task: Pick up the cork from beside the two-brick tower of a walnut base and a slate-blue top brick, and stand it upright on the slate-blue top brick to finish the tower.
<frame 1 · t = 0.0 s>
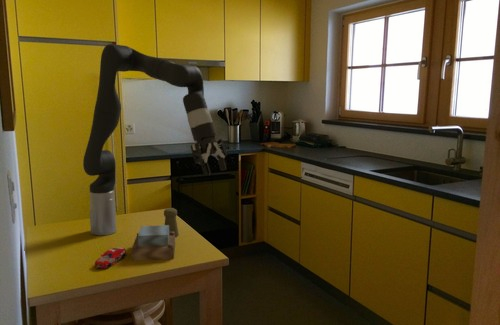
hand: (216, 172, 134), 31 cm above the table, tool tilted 20°, fingers open, 8 cm apart
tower: (154, 251, 150), on the table
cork: (171, 235, 166), on the table
race car: (111, 262, 141), on the table
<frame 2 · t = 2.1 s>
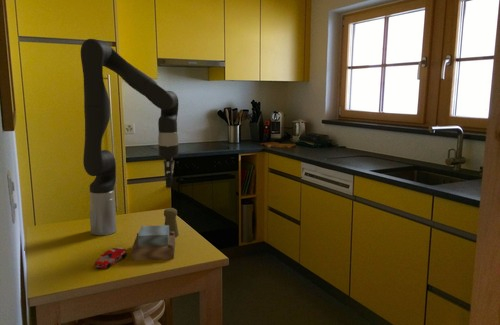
hand: (169, 184, 162), 21 cm above the table, tool pointing down, fingers open, 8 cm apart
nothing on the table moved.
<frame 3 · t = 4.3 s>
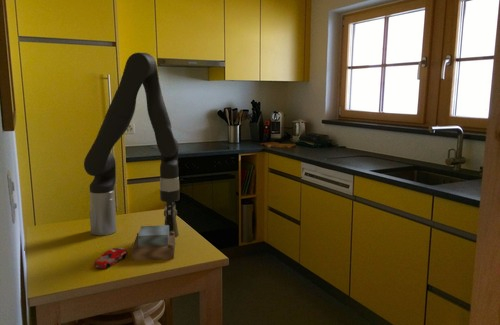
hand: (170, 229, 166), 2 cm above the table, tool pointing down, fingers closed on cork, 3 cm apart
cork: (171, 235, 166), on the table, touching gripper
everything else where it was.
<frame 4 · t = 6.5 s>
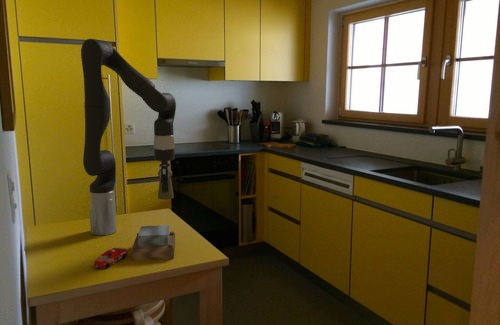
hand: (165, 191, 158), 19 cm above the table, tool pointing down, fingers closed on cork, 3 cm apart
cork: (165, 197, 158), point 17 cm above the table, touching gripper
everything else where it was.
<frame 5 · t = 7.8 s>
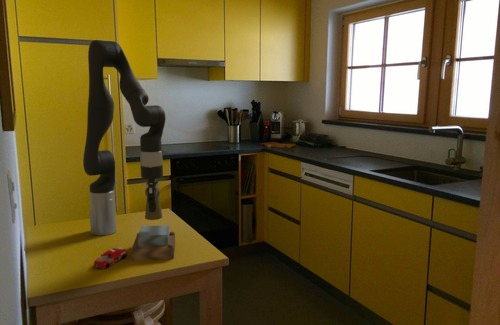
hand: (153, 211, 147), 15 cm above the table, tool pointing down, fingers closed on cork, 3 cm apart
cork: (153, 217, 147), point 13 cm above the table, touching gripper
everything else where it was.
when the fingers open (12 cm above the table, at t = 8.8 s): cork drops 1 cm, resting on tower.
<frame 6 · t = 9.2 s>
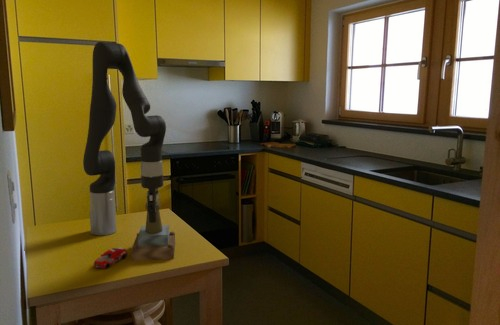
hand: (153, 218, 147), 12 cm above the table, tool pointing down, fingers open, 7 cm apart
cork: (153, 231, 148), point 8 cm above the table, touching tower
everything else where it was.
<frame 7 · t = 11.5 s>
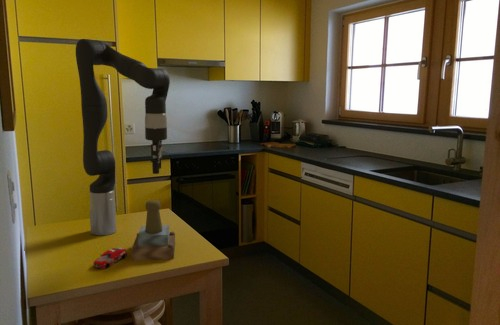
hand: (157, 171, 150), 29 cm above the table, tool pointing down, fingers open, 8 cm apart
nothing on the table moved.
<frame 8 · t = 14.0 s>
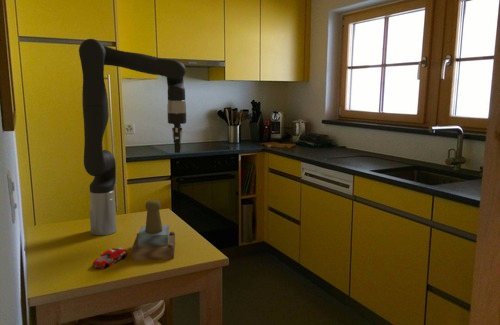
hand: (177, 151, 172), 32 cm above the table, tool pointing down, fingers open, 8 cm apart
nothing on the table moved.
at the end: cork 0.4 cm off-centre on the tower, point 7.8 cm above the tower's base; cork tilted 0°; the gripper is holding nothing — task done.
